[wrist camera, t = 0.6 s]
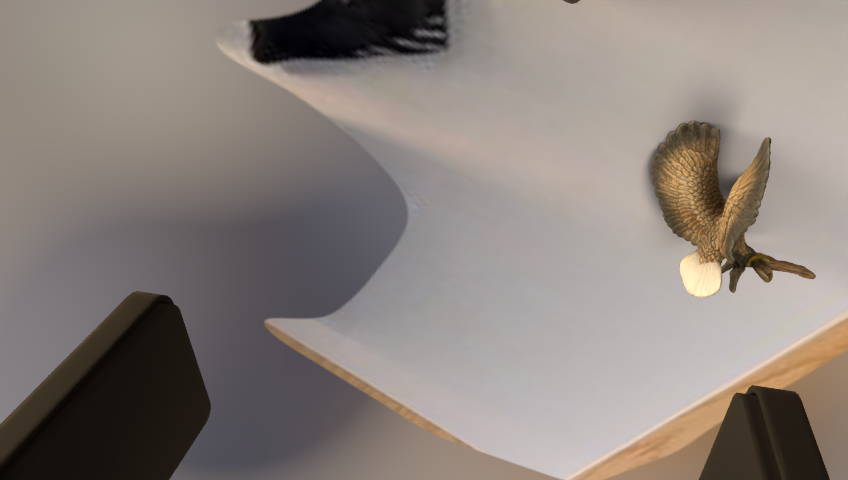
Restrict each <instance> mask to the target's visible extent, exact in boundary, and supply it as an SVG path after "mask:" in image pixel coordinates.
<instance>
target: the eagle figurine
mask: <svg viewBox="0 0 848 480" xmlns="http://www.w3.org/2000/svg"><path fill="white" fill-rule="evenodd" d="M770 144H771V138H770V137H768V138H766V139H764V140H763V142H762V145H761V148H760V150H759V152H758V154H757V156H756V157H755V159H754V160H753V162H752V164H751V165H750V166H749V167H748V169H747V170H746V171H745V172H744V173H743V174H742V175H741V176H740V177H739V178H738V180H737V181H736V183H735V184H734V186H733V187H732V190H731V192H730V195H729V197H728V199H727V201H726V200H725V199H724V198H723V196H722V194H721V192H720V189H719V182H718V173H717V159H718V153H719V145H720V130H719V129H716V128H715V129H712V128H711V127H710V126H709V125H708V124H703V125H701V126H700V125H699V124H698V123H697V122H695V121H692V122H690V123H689V124H688V125H687V124H681V125H680V126H679V128H678V130H677V132H676V133H674V132H672V133H670V134H669V136H668V139H667V145H663V144H662V145H661V146H660V147H659V148H660V150H659V151H660V152H659V153H657V154H656V155H655V156H654V161H653V168H652V170H651V174H652V176H653V178H652V183H653V184H654V186H655V192H656V196H657V197H658V198H659V204H660V207H661V210H662V211H663V217H664V220H665V222H666V223H667V225H668V227H670V228H671V229H672V231H673V233H675V234H677V236H679V237H682V238H684V239H685V240H686V241H691V243H692V245H696V246H698V250H696V251H694V252H693V253H692V254H690V255H689V256H687V257H685V258H684V259H683V260H682V261H681V263H680V273H681V276H682V279H683V285H684V286H685V288H687V291H688V292H689V294H691V295H694V296H696V297H708V296H711V295H714V294H715V293H716V292H718V291H719V290H720V288H721V284H722V273H724V272H726V271H728V270H730V269H731V268H733V269H732V270H731V271H730V284H729V289H730V291H731V292H733V293H734V292H735V291H736V285H737V282H738V280H739V277H740V276H741V274H742V273H743V272H744V271H745V267H753V269H754V270H755V271H756V273H757V274H758V275H759V276H760V277H761V278H762V279H763V280H764V281H765V282H770V281H771V280H772V277H773V273H772V270H775V271H783V272H790V273H795V274H798V275H799V276H801V277H804V278H808V279H814V278H815V277H816V275H815V274H814V273H813V272H811V271H810V270H808V269H807V268H805V267H804V266H801V265H796V264H793V263H789V262H786V261H777V260H775V259H774V258H772V257H770V256H767V255H765V254H762V253H757V252H755V251H754V250H753V249H752V248H751V247H749V246H747V244H746V242H745V239H744V233H745V232H746V231H747V228H748V226H750V225H752V224H754V223H755V221H756V217H757V216H758V214H759V212H758V208H759V207H760V206H761V200H762V198H763V195H764V191H765V188H766V183H767V180H768V177H769V169H770V163H771V162H770V153H771V152H770ZM724 258H726V259H727V261H726V263H725V264H724V265H723V266H722V267H721V263H722V260H723V259H724Z"/></svg>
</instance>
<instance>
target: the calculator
mask: <svg viewBox="0 0 848 480" xmlns="http://www.w3.org/2000/svg"><path fill="white" fill-rule="evenodd" d="M564 1H566V2H568V3H571V4H573V3H577V2H578V1H580V0H564Z"/></svg>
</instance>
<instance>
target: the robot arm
mask: <svg viewBox="0 0 848 480" xmlns="http://www.w3.org/2000/svg"><path fill="white" fill-rule="evenodd" d="M210 407H211V404H210V400H209V397H208V394H207V391H206V388H205V385H204V382H203V379H202V376H201V373H200V370H199V367H198V364H197V361H196V358H195V354H194V351H193V348H192V345H191V342H190V340H189V336H188V333H187V330H186V327H185V324H184V321H183V318H182V315H181V312H180V309H179V308H178V307H177V306H176V305H174V303H173V301H172V299H171V298H169V297H168V296H165V295H159V294H152V293H146V292H139V291H136V292H133V293H131V294H130V295H129V296H128V297H126V298H125V299H124V300H123V302H121V304H120V305H119V306H118V307H117V308H116V309H115V310H114V311H113V312H112V313H111V314H110V315H109V316H108V317H107V318H106V319H105V320H104V321H103V322H102V323H101V324H100V325H99V326H98V327H97V328H96V329H95V330H94V331H93V332H92V333H91V334H90V335H89V336H88V337H87V338H86V339H85V340H84V341H83V342H82V343H81V344H80V345H79V346H78V347H77V348H76V349H75V350H74V351H73V352H72V353H71V354H70V355H69V356H68V357H67V358H66V359H65V360H64V361H63V362H62V363H61V364H60V365H59V366H58V367H57V368H56V369H55V370H54V371H53V372H52V373H51V374H50V375H49V376H48V377H47V378H46V379H45V380H44V381H43V382H42V383H41V384H40V385H39V386H38V387H37V388H36V389H35V390H34V391H33V392H32V393H31V394H30V395H29V396H28V397H27V398H26V399H25V400H24V401H23V402H22V403H21V404H20V405H19V406H18V407H17V408H16V409H15V410H14V411H13V412H12V413H11V414H10V415H9V416H8V417H7V418H6V419H5V420H4V421H3V422H2V423H1V424H0V480H169V479H170V478H171V476H172V474H173V473H174V471H175V470H176V468H177V467H178V465H179V464H180V462H181V461H182V459H183V458H184V456H185V455H186V453H187V451H188V450H189V448H190V447H191V445H192V444H193V442H194V440H195V439H196V438H197V436H198V434H199V433H200V431H201V430H202V428H203V427H204V425H205V424H206V422H207V420H208V417H209V414H210V410H211V408H210ZM699 480H830V479H829V476H828V473H827V470H826V468H825V465H824V462H823V460H822V457H821V454H820V451H819V448H818V446H817V443H816V440H815V437H814V434H813V431H812V429H811V426H810V423H809V420H808V418H807V415H806V412H805V409H804V407H803V404H802V401H801V399H800V397H799V395H798V394H797V393H796V392H792V391H787V390H780V389H774V388H767V387H760V386H754V385H752V386H751V387H749V389H748V391H747V392H746V394H742V393H736V394H735V395H734V396H733V398H732V401H731V403H730V406H729V408H728V410H727V413H726V415H725V418H724V420H723V423H722V425H721V427H720V430H719V432H718V435H717V437H716V440H715V442H714V444H713V447H712V449H711V452H710V454H709V457H708V459H707V461H706V464H705V467H704V469H703V471H702V473H701V476H700V478H699Z"/></svg>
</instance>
